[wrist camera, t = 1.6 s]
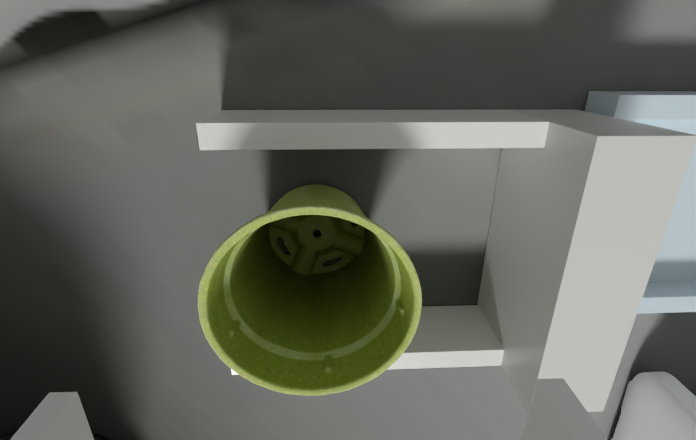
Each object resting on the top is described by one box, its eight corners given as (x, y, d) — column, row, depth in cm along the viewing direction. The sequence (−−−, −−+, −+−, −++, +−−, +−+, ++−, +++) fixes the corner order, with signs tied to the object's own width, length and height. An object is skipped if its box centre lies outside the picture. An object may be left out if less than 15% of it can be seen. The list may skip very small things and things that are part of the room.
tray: (542, 293, 27) (562, 315, 25) (588, 90, 22) (619, 95, 20) (726, 289, 28) (762, 310, 26) (813, 91, 23) (868, 95, 20)
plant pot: (209, 196, 23) (149, 269, 15) (353, 127, 22) (368, 167, 14) (285, 312, 27) (268, 422, 19) (413, 258, 26) (452, 349, 18)
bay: (246, 325, 27) (216, 427, 20) (221, 110, 21) (166, 138, 14) (530, 317, 28) (603, 411, 21) (576, 109, 22) (698, 135, 15)
